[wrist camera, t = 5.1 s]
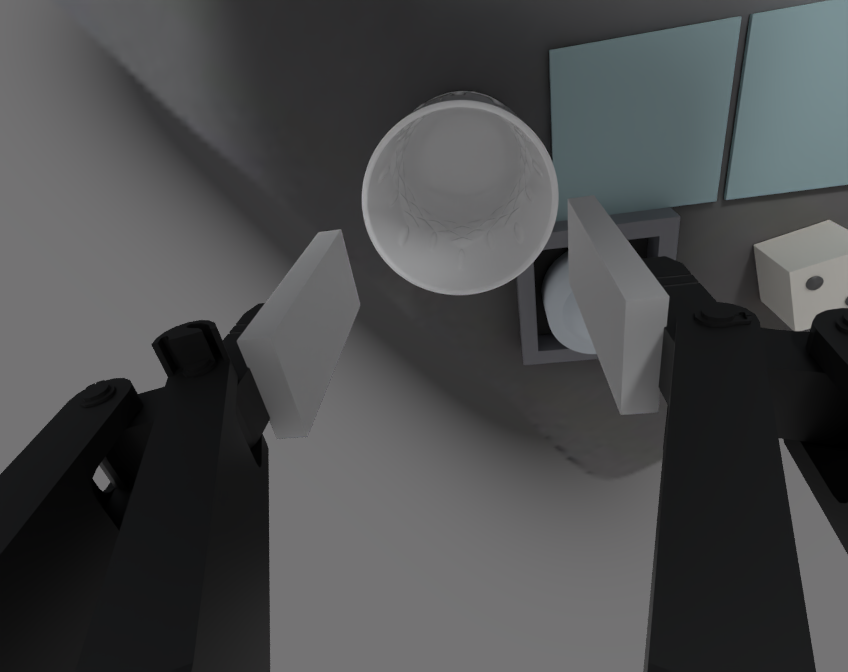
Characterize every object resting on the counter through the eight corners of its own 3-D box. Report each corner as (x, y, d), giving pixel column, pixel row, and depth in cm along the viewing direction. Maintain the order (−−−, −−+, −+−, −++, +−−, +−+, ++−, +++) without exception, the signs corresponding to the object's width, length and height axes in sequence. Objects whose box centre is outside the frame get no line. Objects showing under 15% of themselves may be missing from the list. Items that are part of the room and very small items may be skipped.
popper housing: (511, 225, 31) (514, 236, 29) (668, 205, 29) (680, 216, 27) (521, 349, 35) (523, 365, 33) (656, 336, 34) (666, 353, 32)
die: (753, 244, 30) (790, 273, 26) (828, 219, 29) (878, 245, 25) (760, 300, 32) (796, 333, 28) (832, 278, 31) (878, 310, 27)
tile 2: (750, 14, 24) (752, 14, 24) (963, -24, 23) (969, -25, 23) (723, 198, 29) (726, 199, 28) (900, 176, 27) (904, 177, 27)
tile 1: (548, 49, 26) (549, 50, 25) (738, 16, 24) (741, 15, 24) (553, 220, 30) (554, 221, 30) (714, 199, 29) (716, 201, 29)
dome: (539, 249, 31) (549, 282, 27) (642, 236, 30) (669, 269, 26) (543, 333, 34) (553, 374, 30) (637, 324, 33) (660, 365, 29)
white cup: (558, 115, 27) (598, 154, 19) (493, 241, 31) (501, 321, 23) (424, 51, 26) (402, 62, 18) (375, 191, 30) (337, 254, 22)
